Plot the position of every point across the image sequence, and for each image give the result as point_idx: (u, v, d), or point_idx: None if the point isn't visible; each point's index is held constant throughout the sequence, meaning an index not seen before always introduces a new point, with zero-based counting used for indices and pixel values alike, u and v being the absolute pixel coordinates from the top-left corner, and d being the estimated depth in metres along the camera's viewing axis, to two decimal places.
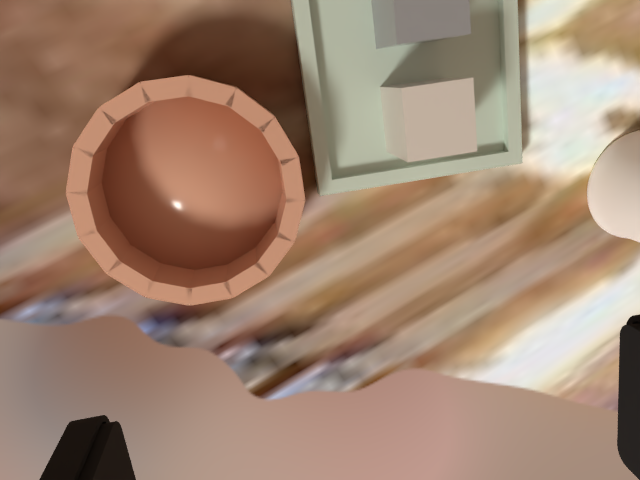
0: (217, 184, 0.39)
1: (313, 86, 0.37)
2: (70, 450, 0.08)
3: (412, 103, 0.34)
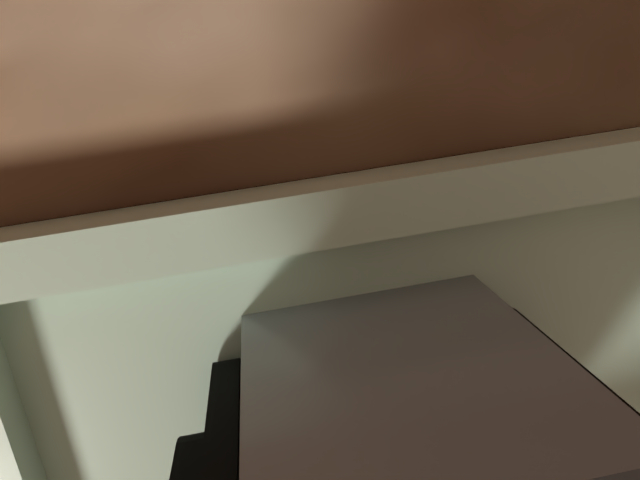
0: None
1: None
2: (224, 382, 0.10)
3: None
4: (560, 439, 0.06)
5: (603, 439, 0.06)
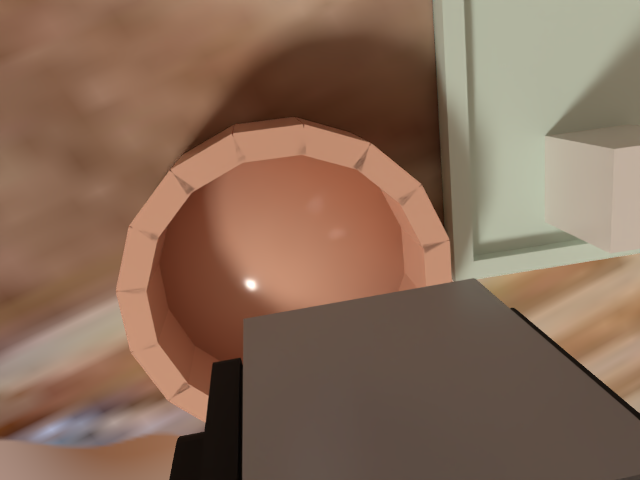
0: (317, 265, 0.28)
1: (460, 135, 0.27)
2: (224, 382, 0.10)
3: (627, 171, 0.23)
4: (562, 445, 0.06)
5: (604, 444, 0.06)
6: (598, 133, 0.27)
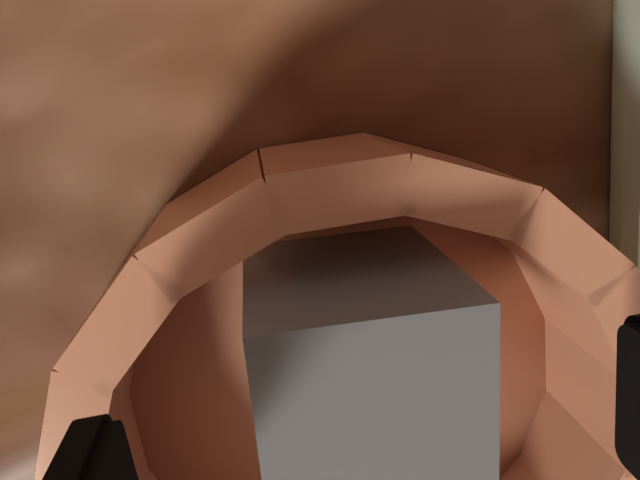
0: None
1: None
2: (73, 448, 0.08)
3: None
4: (433, 297, 0.10)
5: (458, 296, 0.10)
6: None
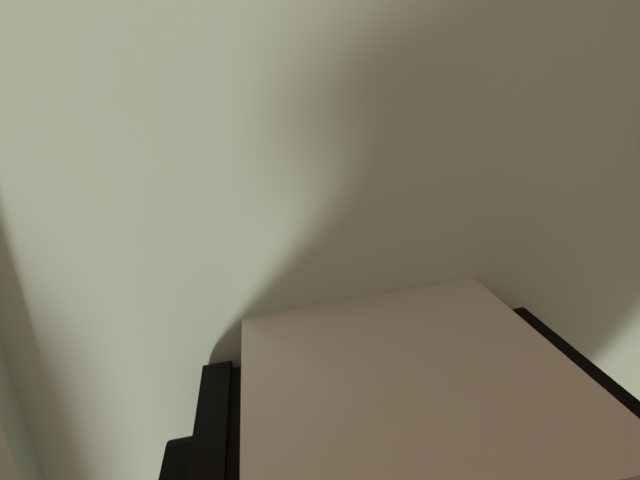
0: None
1: None
2: (214, 385, 0.09)
3: None
4: None
5: None
6: (357, 333, 0.09)
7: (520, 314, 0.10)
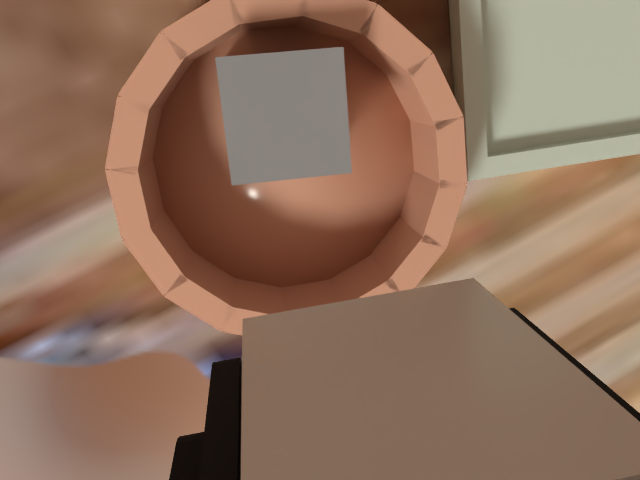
0: None
1: (472, 15, 0.25)
2: (224, 382, 0.10)
3: None
4: None
5: None
6: (357, 334, 0.09)
7: None
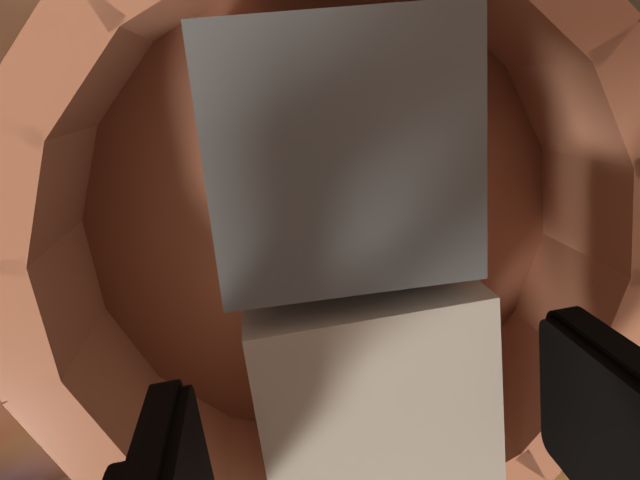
0: None
1: None
2: (156, 407, 0.09)
3: (287, 387, 0.10)
4: None
5: None
6: None
7: (576, 313, 0.10)
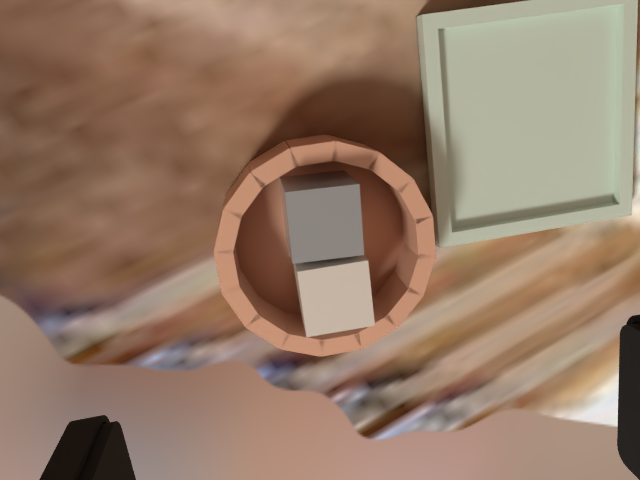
0: None
1: (439, 145, 0.39)
2: (70, 450, 0.08)
3: (309, 285, 0.35)
4: (341, 184, 0.34)
5: (348, 183, 0.34)
6: None
7: None
